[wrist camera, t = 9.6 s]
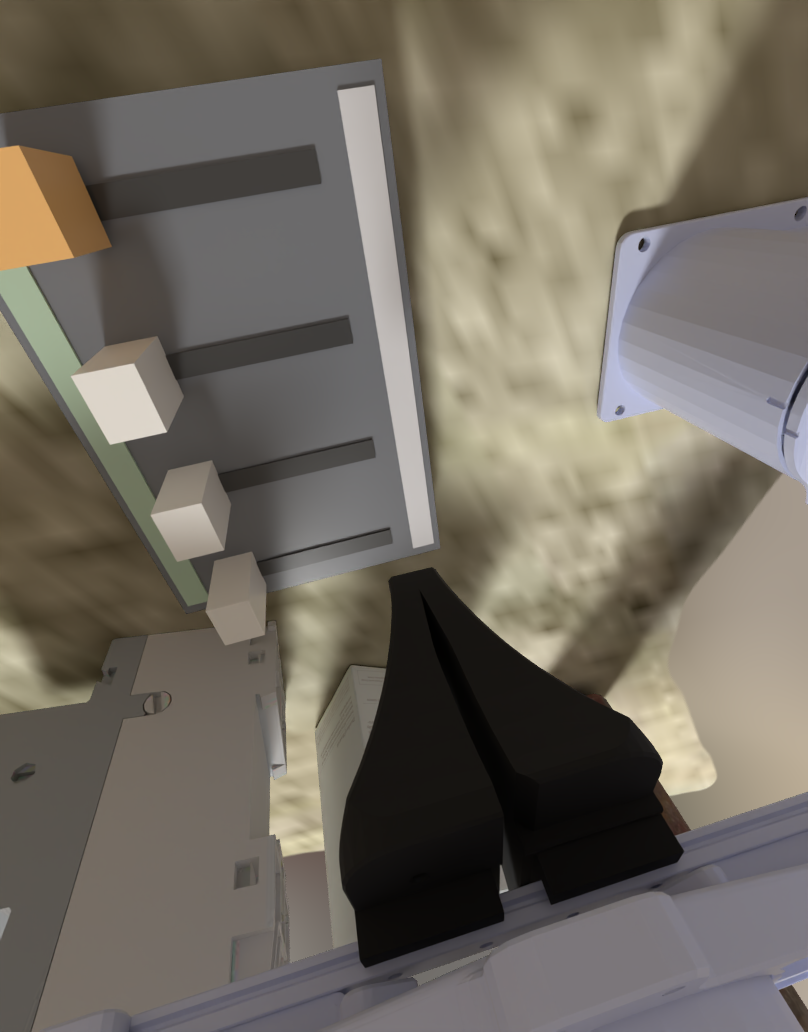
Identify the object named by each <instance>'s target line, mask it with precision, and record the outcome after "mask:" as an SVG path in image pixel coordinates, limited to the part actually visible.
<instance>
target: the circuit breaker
mask: <svg viewBox="0 0 808 1032" xmlns="http://www.w3.org/2000/svg"><path fill="white" fill-rule="evenodd" d="M101 670H102V672H103V674H104V676H103V679H102V681H101V682H98V681H97V682H96V685H95V688H94V690H93V693H92V696H91V698H90V700H89V701H88V702H86V703H79V704H72V705H65V706H58V707H51V708H44V709H37V710H30V711H23V712H16V713H9V714H2V715H0V1032H39V1031H40V1030H41V1029H44V1028H47V1027H50V1026H53V1025H56V1024H59V1023H62V1022H65V1021H69V1020H72V1019H75V1018H78V1017H81V1016H84V1015H87V1014H90V1013H93V1012H97V1011H101V1010H105V1009H121V1010H123V1011H125V1012H127V1013H128V1014H129V1015H130V1016H132V1015H135V1014H138V1013H141V1012H144V1011H147V1010H150V1009H153V1008H156V1007H159V1006H162V1005H165V1004H168V1003H171V1002H174V1001H178V1000H181V999H184V998H187V997H190V996H193V995H196V994H199V993H202V992H205V991H208V990H211V989H214V988H217V987H220V986H223V985H226V984H229V983H232V982H235V981H238V980H241V979H244V978H247V977H250V976H253V975H256V974H259V973H262V972H265V971H268V970H271V969H274V968H277V967H280V966H283V965H286V964H289V963H290V940H289V906H288V901H287V895H286V874H285V868H284V862H283V857H282V851H281V846H280V840H279V839H278V840H276V836H275V835H270V836H269V811H270V777H271V776H273V777H274V780H275V779H277V778H279V777H281V776H283V775H285V774H287V762H286V722H285V708H286V703H285V694H284V686H283V678H282V669H281V661H280V652H279V644H278V635H277V627H276V621H268V626H267V627H265V635H263V636H259V637H255V638H251V639H248V640H244V641H240V642H236V643H233V644H229V645H225V644H224V643H223V641H222V639H221V637H220V636H219V634H218V632H217V630H216V629H215V628H206V629H197V630H188V631H179V632H171V633H162V634H153V635H144V636H136V637H127V638H118V639H114V640H112V642H111V645H110V648H109V650H108V653H107V656H106V658H105V661H104V664H103V666H102V669H101Z"/></svg>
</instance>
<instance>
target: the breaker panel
mask: <svg viewBox="0 0 808 1032" xmlns="http://www.w3.org/2000/svg"><path fill="white" fill-rule="evenodd" d="M18 145H19V146H24V147H29V148H34V149H39V150H44V151H48V152H53V153H58V154H63V155H68V156H72V158H73V160H74V162H75V164H76V167H77V169H78V171H79V173H80V176H81V178H82V180H83V182H84V185H85V187H86V189H87V191H88V194H89V196H90V198H91V200H92V203H93V205H94V207H95V209H96V212H97V214H98V216H99V218H100V221H101V223H102V225H103V227H104V230H105V232H106V234H107V236H108V239H109V241H110V243H111V245H112V247H109V248H106V249H102V250H99V251H96V252H92V253H89V254H85V255H82V256H79V257H75V258H70V259H65V260H59V261H53V262H48V263H42V264H36V265H31V266H25V267H19V268H14V269H8V270H3V271H0V311H1V313H2V314H3V316H4V318H5V319H6V321H7V322H8V324H9V326H10V327H11V329H12V331H13V332H14V334H15V335H16V337H17V339H18V340H19V342H20V344H21V345H22V347H23V349H24V350H25V352H26V353H27V355H28V357H29V358H30V360H31V362H32V363H33V365H34V366H35V368H36V370H37V371H38V373H39V375H40V376H41V378H42V380H43V381H44V383H45V384H46V386H47V388H48V389H49V391H50V393H51V394H52V396H53V397H54V399H55V401H56V402H57V404H58V406H59V407H60V409H61V411H62V412H63V414H64V415H65V417H66V419H67V420H68V422H69V424H70V425H71V427H72V428H73V430H74V432H75V433H76V435H77V437H78V438H79V440H80V442H81V443H82V445H83V446H84V448H85V450H86V451H87V453H88V455H89V456H90V458H91V459H92V461H93V463H94V464H95V466H96V468H97V469H98V471H99V473H100V474H101V476H102V477H103V479H104V481H105V482H106V484H107V486H108V487H109V489H110V491H111V492H112V494H113V495H114V497H115V499H116V500H117V502H118V504H119V505H120V507H121V508H122V510H123V512H124V513H125V515H126V517H127V518H128V520H129V522H130V523H131V525H132V526H133V528H134V530H135V531H136V533H137V535H138V536H139V538H140V539H141V541H142V543H143V544H144V546H145V548H146V549H147V551H148V553H149V554H150V556H151V557H152V559H153V561H154V562H155V564H156V566H157V567H158V569H159V570H160V572H161V574H162V575H163V577H164V579H165V580H166V582H167V584H168V585H169V587H170V588H171V590H172V592H173V593H174V595H175V597H176V598H177V600H178V601H179V603H180V605H181V606H182V608H183V610H184V611H185V613H186V614H188V613H192V612H196V611H200V610H204V609H206V613H207V615H208V617H209V618H210V620H211V622H212V623H213V625H214V627H215V629H216V630H217V632H218V634H219V636H220V637H221V639H222V641H223V643H224V644H225V645H229V644H233V643H236V642H240V641H244V640H248V639H251V638H255V637H259V636H263V635H265V621H266V593H270V592H274V591H277V590H281V589H285V588H289V587H293V586H297V585H301V584H304V583H308V582H312V581H316V580H320V579H324V578H328V577H332V576H335V575H339V574H343V573H347V572H351V571H355V570H359V569H363V568H366V567H370V566H374V565H378V564H382V563H386V562H390V561H394V560H397V559H401V558H405V557H409V556H413V555H417V554H421V553H425V552H428V551H432V550H436V549H440V541H439V533H438V524H437V516H436V508H435V499H434V491H433V483H432V474H431V466H430V458H429V450H428V441H427V433H426V425H425V416H424V408H423V400H422V392H421V383H420V375H419V367H418V358H417V350H416V342H415V333H414V325H413V317H412V309H411V300H410V292H409V284H408V275H407V267H406V259H405V251H404V242H403V234H402V226H401V217H400V209H399V201H398V192H397V184H396V176H395V168H394V159H393V151H392V143H391V134H390V126H389V118H388V110H387V101H386V93H385V85H384V76H383V68H382V60H381V59H374V60H368V61H361V62H354V63H347V64H340V65H333V66H326V67H319V68H312V69H305V70H298V71H292V72H285V73H278V74H271V75H264V76H257V77H250V78H243V79H236V80H229V81H223V82H216V83H209V84H202V85H195V86H188V87H181V88H174V89H167V90H160V91H153V92H147V93H140V94H133V95H126V96H119V97H112V98H105V99H98V100H91V101H84V102H77V103H71V104H64V105H57V106H50V107H43V108H36V109H29V110H22V111H15V112H8V113H1V114H0V148H4V147H11V146H18Z"/></svg>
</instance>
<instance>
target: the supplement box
mask: <svg viewBox="0 0 808 1032" xmlns="http://www.w3.org/2000/svg"><path fill="white" fill-rule="evenodd" d="M385 673H386V669H385V668H376V667H365V666H356V665H351V666H350V667H349V669H348V670H347V672H346V674H345V676H344V677H343V679H342V681H341V683H340V685H339V687H338V689H337V690H336V692H335V694H334V696H333V698H332V700H331V701H330V703H329V705H328V707H327V709H326V711H325V713H324V715H323V717H322V719H321V720H320V722H319V724H318V726H317V729H316V731H315V740H316V750H317V762H318V774H319V787H320V797H321V809H322V822H323V834H324V847H325V859H326V869H327V881H328V894H329V905H330V917H331V928H332V940H333V949H335V948H338V947H341V946H344V945H347V944H350V943H353V942H356V941H358V940H357V931H356V921H355V912H354V909H353V907H352V905H351V903H350V902H349V900H348V898H347V897H346V895H345V893H344V891H343V889H342V883H341V874H340V865H339V843H340V833H341V827H342V820H343V815H344V809H345V804H346V798H347V795H348V793H349V790H350V788H351V785H352V783H353V780H354V778H355V775H356V773H357V770H358V768H359V765H360V762H361V760H362V757H363V754H364V751H365V748H366V745H367V742H368V739H369V736H370V733H371V730H372V726H373V723H374V719H375V716H376V712H377V708H378V704H379V700H380V696H381V692H382V687H383V683H384V678H385ZM507 891H509V890H508V887H507V883H506V880H505V876H504V873H503V869H502V866H501V865H500V894H501V893H504V892H507Z"/></svg>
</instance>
